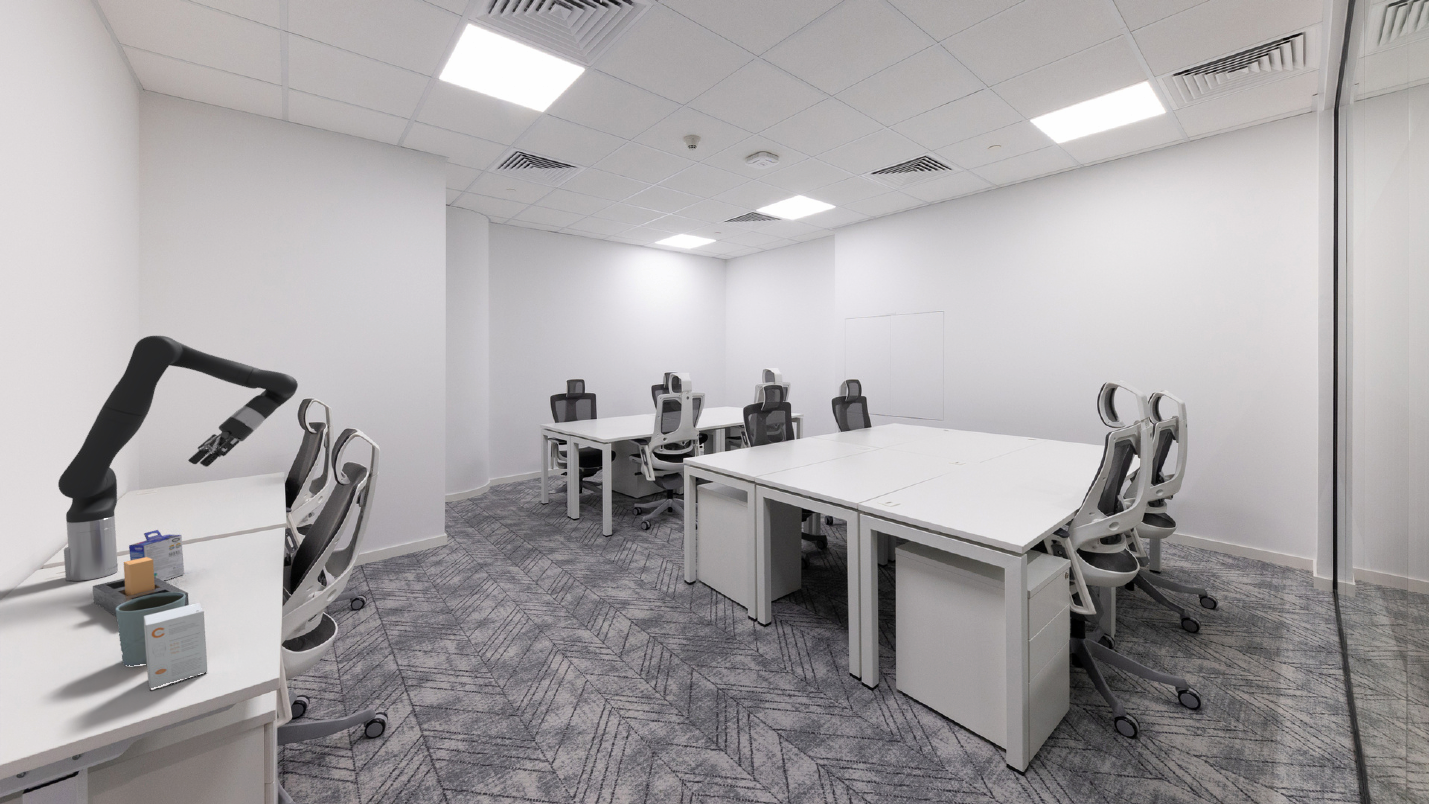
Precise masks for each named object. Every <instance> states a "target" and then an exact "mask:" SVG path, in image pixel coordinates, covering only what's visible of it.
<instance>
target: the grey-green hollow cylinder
mask: <svg viewBox="0 0 1429 804" xmlns="http://www.w3.org/2000/svg"><path fill="white" fill-rule="evenodd" d="M185 597H186V595H185V594H184V593H181V592H167V593H159V594H153V595H148V596H143V597H140V598H136V599H133V600H130V601H127V602H125V603H122V604H121V605H119V606H118V607H117V608H116V609H115V610H116V616H117V617H116V616H115V617H116V620H117V621H116V622H117V626H118V633H119V634H118V637H119V643H120V644H119V645H120V651H121V653H122V654H121V659H122V664H123V666H124V665H127V666H129V665H130V666H134V665H140V664H147V660H146V645H145V631H144V616H146V615H150V614H154V613H158V612H163V611H167V610H171V609H175V608H179V607H183V606H185Z"/></svg>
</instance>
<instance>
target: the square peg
mask: <svg viewBox="0 0 1429 804" xmlns="http://www.w3.org/2000/svg"><path fill="white" fill-rule="evenodd" d="M123 571H124V572H123V574H124V575H123V577H124V578H125V594H126V596H129V595H133V594H137V593H141V592H145V591H149V590H152V589H155V584H154V567H153V559H150V558H148V557H145V558H140V559H135V560H127V561H126V560H125V561H124V562H123Z"/></svg>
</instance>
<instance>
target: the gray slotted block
mask: <svg viewBox="0 0 1429 804" xmlns="http://www.w3.org/2000/svg"><path fill="white" fill-rule="evenodd" d="M154 584H155V589H152V590H149V591H145V592H141V593H137V594H133V595H129V596H126V594H125V577H124V578H120V579H116V580H112V581H108V582H103V583H100V584H99V583H98V584H95V585H92V597H93V598H92V599H93V603H94V604H95V605H97V606H98V607H99V608H102V609H103V610H105V611H106V612H108V613H110V614H111V615H113V616H114V615H115V616H114V617H116V618H117V616H116V610H115V609H116V608H117V607H118V606H119V605H121V604H122V603H125V602H127V601H130V600H133V599H136V598H140V597H143V596H148V595H153V594H159V593H167V592H181V593H184V594H185V595H186V597H185V606H187V605H190V603H189V593H188V592H187V591H185V590H183V589H181V588H179V587H176V585H175V586H174V585H172V584H170V583H168V582H166V581H162V580H160V579H158V578H156V577H154Z"/></svg>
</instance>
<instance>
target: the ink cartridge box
mask: <svg viewBox="0 0 1429 804" xmlns="http://www.w3.org/2000/svg"><path fill="white" fill-rule="evenodd" d="M152 534H155V535H152ZM156 534H157V535H156ZM143 535H144V537H145V540H144V541H140V542H136V543H133V544H128V545H129V546H128V551H129V557H130V558H129V559H130V560H129V561H131V560H135V559H140V558H145V557H148V558H150V559H153V567H154V577H156V578H158V579H160V580H162V581H164V580H166V581H169V580H171V578H172V579H174V577H175V578H177V577H180V576H183V575H185V565H184V553H183V552H184V551H183V540H182V538H183V537H182V534H164V535H162V534H161V532H160V531H159V529H155V530H152V531H148V532H144V533H143ZM150 535H152V536H150ZM164 582H165V581H164Z"/></svg>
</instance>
